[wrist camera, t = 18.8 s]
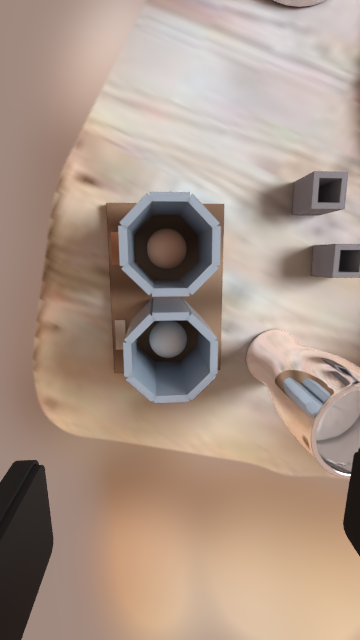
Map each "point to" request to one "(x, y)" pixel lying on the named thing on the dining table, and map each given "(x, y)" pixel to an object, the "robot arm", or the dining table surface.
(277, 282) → the dining table surface
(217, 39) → the dining table surface
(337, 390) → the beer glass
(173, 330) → the ivory ball
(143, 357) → the tubes
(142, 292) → the rack board
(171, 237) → the terracotta ball
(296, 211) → the stand
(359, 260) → the stand
